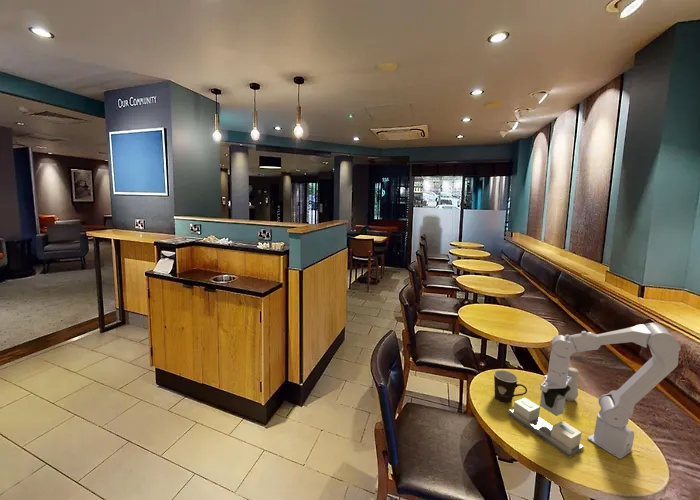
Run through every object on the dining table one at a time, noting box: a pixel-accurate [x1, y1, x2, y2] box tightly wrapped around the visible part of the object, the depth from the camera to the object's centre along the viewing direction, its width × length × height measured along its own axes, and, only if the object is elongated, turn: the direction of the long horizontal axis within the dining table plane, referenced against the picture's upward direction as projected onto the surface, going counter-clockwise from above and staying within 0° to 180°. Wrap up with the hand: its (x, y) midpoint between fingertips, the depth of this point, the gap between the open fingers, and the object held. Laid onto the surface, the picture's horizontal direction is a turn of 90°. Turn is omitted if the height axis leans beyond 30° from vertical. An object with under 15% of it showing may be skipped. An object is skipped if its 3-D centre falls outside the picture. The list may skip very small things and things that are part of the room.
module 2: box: [551, 420, 583, 450], centre depth 105 cm, size 6×6×5 cm
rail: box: [507, 408, 585, 459], centre depth 112 cm, size 22×8×2 cm, turn 27°
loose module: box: [539, 391, 566, 417], centre depth 113 cm, size 6×4×6 cm, turn 26°
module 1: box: [512, 397, 541, 422], centre depth 118 cm, size 6×6×5 cm
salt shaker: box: [564, 366, 580, 402], centre depth 129 cm, size 6×6×13 cm
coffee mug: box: [493, 369, 528, 404], centre depth 127 cm, size 12×9×10 cm
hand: (552, 404), depth 113 cm, fingers closed on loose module, 4 cm apart
